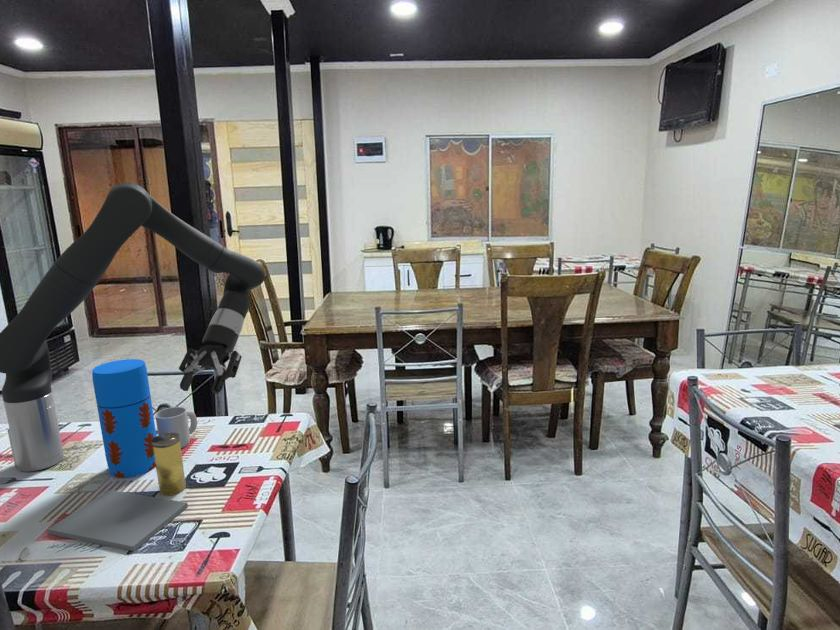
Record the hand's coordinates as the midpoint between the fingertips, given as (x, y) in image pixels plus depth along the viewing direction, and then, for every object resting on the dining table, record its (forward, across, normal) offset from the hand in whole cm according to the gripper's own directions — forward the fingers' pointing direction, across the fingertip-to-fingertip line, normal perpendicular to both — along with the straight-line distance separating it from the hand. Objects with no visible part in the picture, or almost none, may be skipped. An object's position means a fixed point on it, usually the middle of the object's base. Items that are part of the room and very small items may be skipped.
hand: (198, 391), depth 120 cm
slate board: (+30, -2, -4) cm, 30 cm away
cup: (+8, -14, +18) cm, 24 cm away
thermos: (+17, -16, +8) cm, 25 cm away
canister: (+21, 0, +4) cm, 22 cm away
